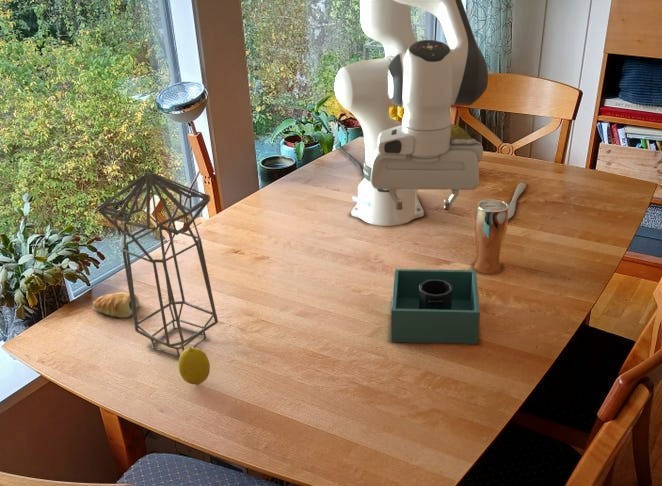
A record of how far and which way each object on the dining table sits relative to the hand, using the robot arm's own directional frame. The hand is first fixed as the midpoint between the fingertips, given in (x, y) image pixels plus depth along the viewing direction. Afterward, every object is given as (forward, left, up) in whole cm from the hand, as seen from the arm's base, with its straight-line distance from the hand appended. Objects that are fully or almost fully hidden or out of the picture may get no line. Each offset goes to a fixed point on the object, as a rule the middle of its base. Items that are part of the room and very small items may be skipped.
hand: (423, 209), depth 143 cm
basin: (+6, +3, -22) cm, 23 cm away
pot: (+6, +3, -21) cm, 22 cm away
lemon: (+30, -40, -22) cm, 54 cm away
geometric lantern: (+17, -47, -22) cm, 55 cm away
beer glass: (-17, +15, -22) cm, 32 cm away
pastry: (+5, -64, -22) cm, 68 cm away
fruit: (-75, +6, -22) cm, 79 cm away
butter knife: (-53, +24, -22) cm, 62 cm away
